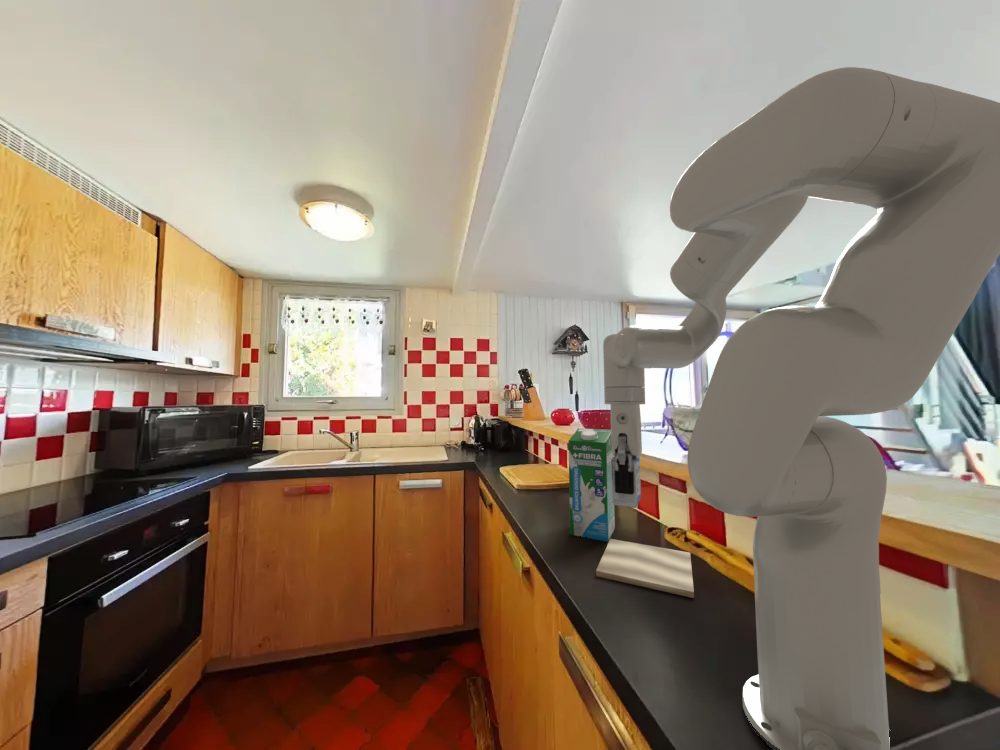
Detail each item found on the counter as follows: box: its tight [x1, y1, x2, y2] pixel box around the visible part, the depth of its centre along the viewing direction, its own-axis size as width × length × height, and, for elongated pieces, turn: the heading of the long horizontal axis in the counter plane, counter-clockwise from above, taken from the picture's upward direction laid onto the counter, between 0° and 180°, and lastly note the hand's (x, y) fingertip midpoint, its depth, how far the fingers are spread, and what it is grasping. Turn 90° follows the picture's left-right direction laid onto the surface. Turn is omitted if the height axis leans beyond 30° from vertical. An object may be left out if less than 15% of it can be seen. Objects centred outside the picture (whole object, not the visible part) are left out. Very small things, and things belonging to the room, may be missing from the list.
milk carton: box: [568, 428, 616, 543], centre depth 86 cm, size 9×9×25 cm
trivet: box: [595, 538, 695, 599], centre depth 68 cm, size 16×16×1 cm
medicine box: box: [611, 455, 642, 509], centre depth 67 cm, size 8×4×9 cm, turn 153°
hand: (626, 486), depth 67 cm, fingers closed on medicine box, 8 cm apart
